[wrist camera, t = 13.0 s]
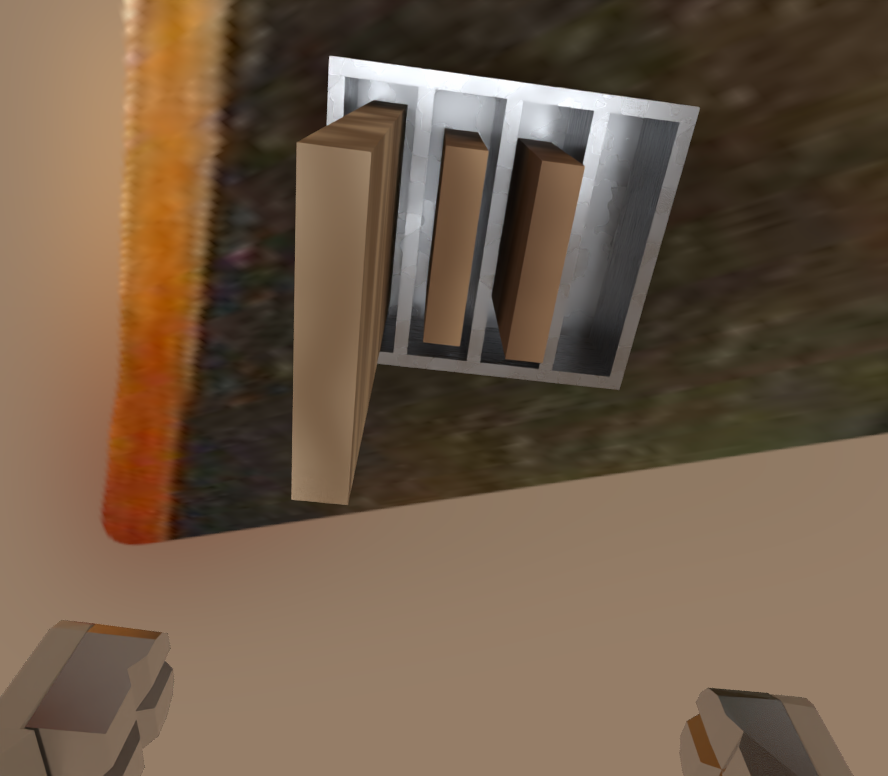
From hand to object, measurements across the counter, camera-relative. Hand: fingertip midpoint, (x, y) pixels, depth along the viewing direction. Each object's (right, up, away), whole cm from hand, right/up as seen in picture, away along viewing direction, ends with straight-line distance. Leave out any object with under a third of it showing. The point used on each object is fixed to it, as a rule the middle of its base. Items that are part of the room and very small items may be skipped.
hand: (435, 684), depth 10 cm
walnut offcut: (+5, +15, +30) cm, 34 cm away
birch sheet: (-4, +16, +30) cm, 34 cm away
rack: (+3, +16, +31) cm, 35 cm away
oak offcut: (+1, +15, +30) cm, 34 cm away
